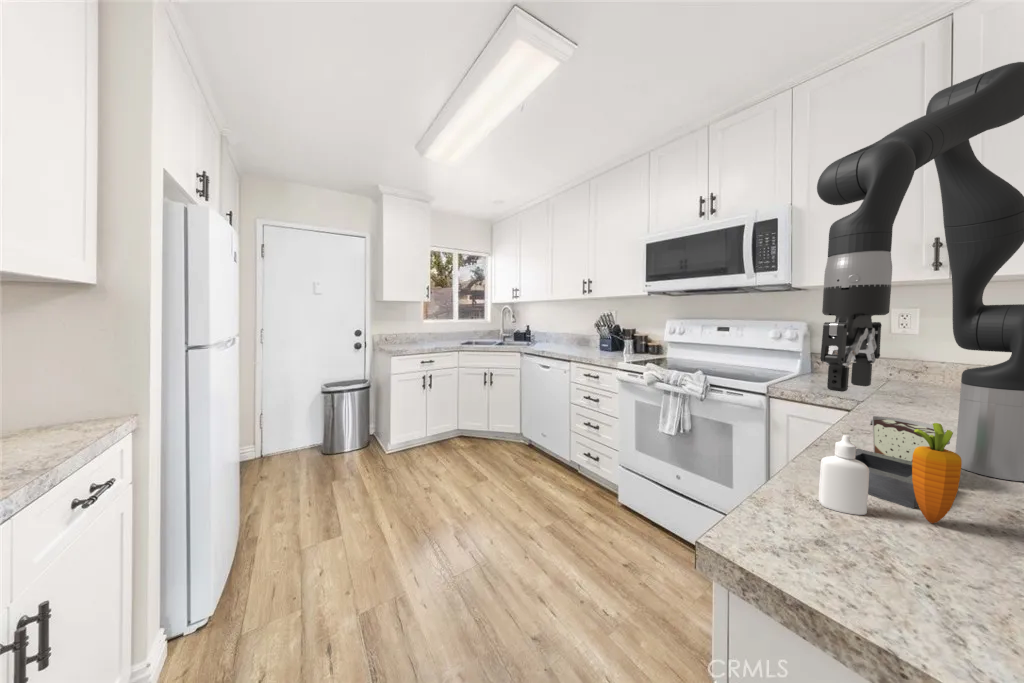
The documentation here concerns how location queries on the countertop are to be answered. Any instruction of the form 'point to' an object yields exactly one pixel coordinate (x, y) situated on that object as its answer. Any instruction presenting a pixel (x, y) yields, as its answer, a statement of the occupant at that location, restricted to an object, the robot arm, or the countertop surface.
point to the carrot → (935, 474)
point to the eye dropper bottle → (844, 480)
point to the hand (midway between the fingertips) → (849, 388)
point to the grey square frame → (889, 477)
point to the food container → (898, 436)
